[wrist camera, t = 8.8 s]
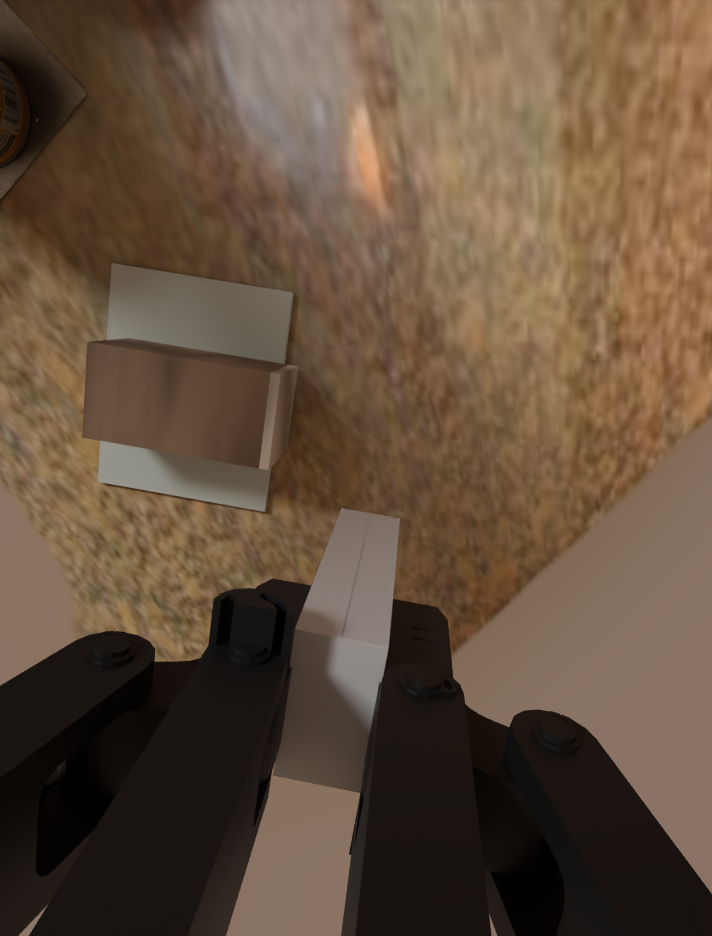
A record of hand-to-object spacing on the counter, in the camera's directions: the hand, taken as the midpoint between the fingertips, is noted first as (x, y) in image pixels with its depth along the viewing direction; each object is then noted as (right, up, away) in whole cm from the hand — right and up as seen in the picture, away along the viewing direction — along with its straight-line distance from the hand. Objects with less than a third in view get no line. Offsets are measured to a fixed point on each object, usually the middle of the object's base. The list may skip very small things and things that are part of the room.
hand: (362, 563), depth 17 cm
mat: (-10, +7, +22) cm, 25 cm away
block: (-4, +5, +19) cm, 20 cm away
